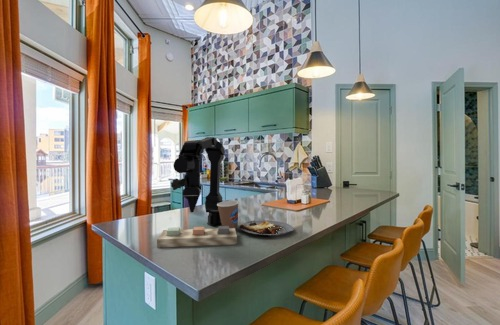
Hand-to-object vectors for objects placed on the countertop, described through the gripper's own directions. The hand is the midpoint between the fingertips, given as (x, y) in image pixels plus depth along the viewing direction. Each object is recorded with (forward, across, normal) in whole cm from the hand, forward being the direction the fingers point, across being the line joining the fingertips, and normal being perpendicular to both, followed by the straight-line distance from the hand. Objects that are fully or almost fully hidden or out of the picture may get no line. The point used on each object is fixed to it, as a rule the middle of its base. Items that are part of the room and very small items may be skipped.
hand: (192, 209), depth 103 cm
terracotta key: (+11, +1, +3) cm, 11 cm away
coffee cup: (+12, -14, +16) cm, 25 cm away
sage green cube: (+11, +1, -7) cm, 13 cm away
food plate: (+13, -9, +33) cm, 36 cm away
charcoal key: (+11, +2, +12) cm, 17 cm away
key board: (+12, +1, +2) cm, 13 cm away
